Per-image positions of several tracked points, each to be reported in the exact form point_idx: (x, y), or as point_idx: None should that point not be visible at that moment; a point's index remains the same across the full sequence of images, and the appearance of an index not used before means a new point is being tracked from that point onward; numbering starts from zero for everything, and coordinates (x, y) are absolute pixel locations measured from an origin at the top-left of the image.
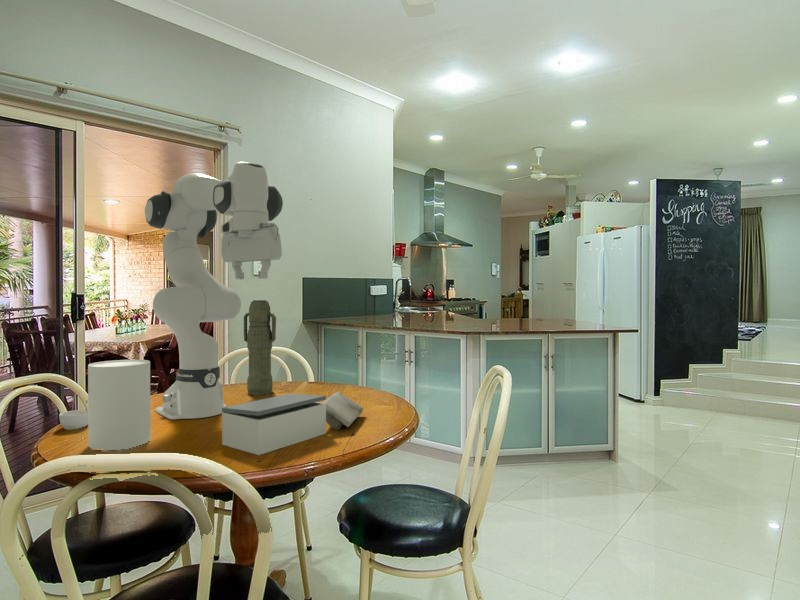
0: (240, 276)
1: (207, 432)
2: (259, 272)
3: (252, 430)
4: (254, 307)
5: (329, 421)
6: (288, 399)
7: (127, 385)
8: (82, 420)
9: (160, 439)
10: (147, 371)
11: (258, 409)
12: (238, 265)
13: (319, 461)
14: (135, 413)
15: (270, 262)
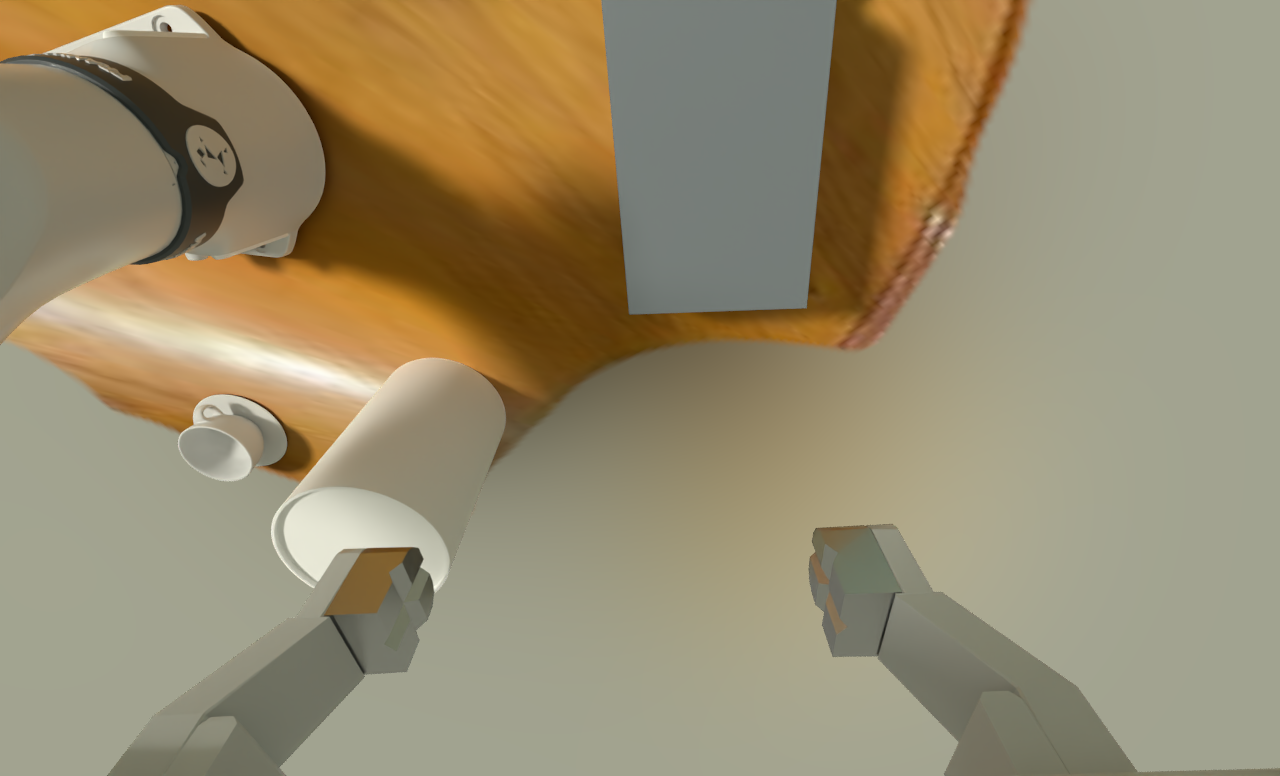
0: (416, 603)
1: (489, 241)
2: (854, 642)
3: None
4: None
5: None
6: (731, 104)
7: (466, 517)
8: (255, 440)
9: (475, 348)
10: (423, 490)
11: (780, 287)
12: (269, 764)
13: (946, 199)
14: (484, 450)
15: (1105, 735)
